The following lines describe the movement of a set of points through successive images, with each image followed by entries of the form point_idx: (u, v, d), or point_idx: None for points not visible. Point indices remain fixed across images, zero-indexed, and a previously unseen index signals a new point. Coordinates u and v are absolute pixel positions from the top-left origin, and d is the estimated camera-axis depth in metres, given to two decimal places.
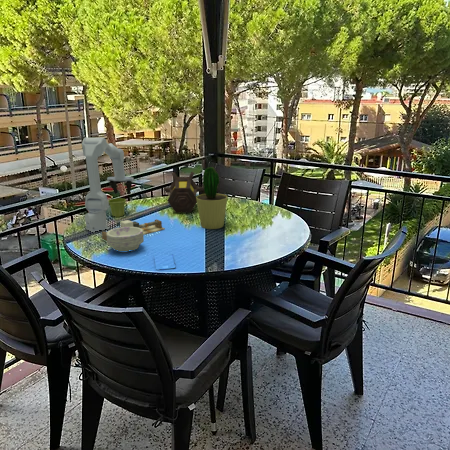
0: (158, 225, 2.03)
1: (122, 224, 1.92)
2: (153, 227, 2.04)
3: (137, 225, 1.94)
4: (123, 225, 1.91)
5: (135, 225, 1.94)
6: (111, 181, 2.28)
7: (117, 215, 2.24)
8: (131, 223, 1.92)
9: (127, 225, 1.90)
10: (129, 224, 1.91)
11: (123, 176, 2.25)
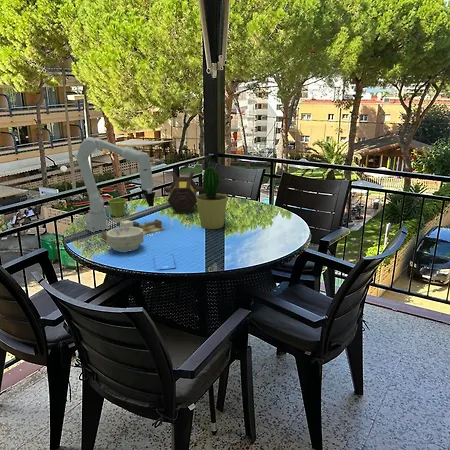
0: (158, 225, 2.03)
1: (122, 224, 1.92)
2: (153, 227, 2.04)
3: (137, 225, 1.94)
4: (123, 225, 1.91)
5: (135, 225, 1.94)
6: None
7: (117, 215, 2.24)
8: (131, 223, 1.92)
9: (127, 225, 1.90)
10: (129, 224, 1.91)
11: (145, 185, 2.01)
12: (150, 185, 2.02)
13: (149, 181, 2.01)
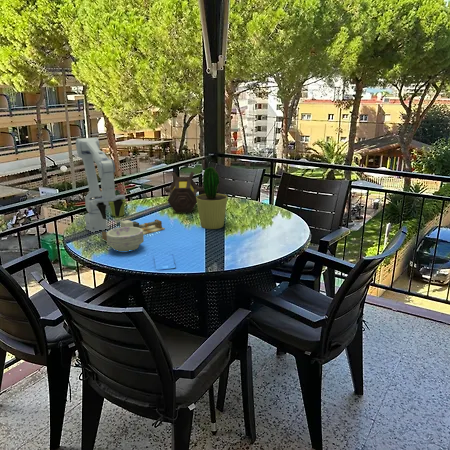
0: (158, 225, 2.03)
1: (122, 224, 1.92)
2: (153, 227, 2.04)
3: (137, 225, 1.94)
4: (123, 225, 1.91)
5: (135, 225, 1.94)
6: None
7: None
8: (131, 223, 1.92)
9: (127, 225, 1.90)
10: (129, 224, 1.91)
11: (102, 195, 1.83)
12: (104, 197, 1.81)
13: (103, 192, 1.81)
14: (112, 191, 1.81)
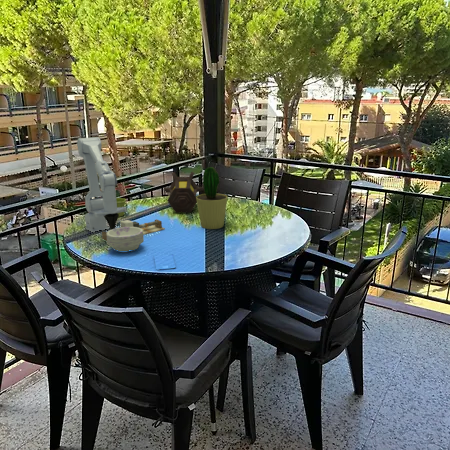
0: (158, 225, 2.03)
1: (122, 224, 1.92)
2: (153, 227, 2.04)
3: (137, 225, 1.94)
4: (123, 225, 1.91)
5: (135, 225, 1.94)
6: None
7: None
8: (131, 223, 1.92)
9: (127, 225, 1.90)
10: (129, 224, 1.91)
11: (103, 208, 1.85)
12: (106, 209, 1.83)
13: (105, 205, 1.82)
14: (114, 204, 1.83)
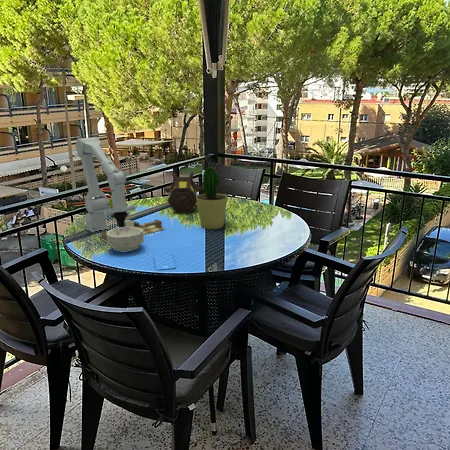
0: (158, 225, 2.03)
1: None
2: (153, 227, 2.04)
3: (137, 225, 1.94)
4: (124, 225, 1.91)
5: (135, 225, 1.94)
6: None
7: None
8: (132, 223, 1.92)
9: (128, 225, 1.91)
10: (130, 224, 1.91)
11: None
12: (115, 208, 1.86)
13: (114, 203, 1.85)
14: (123, 202, 1.86)
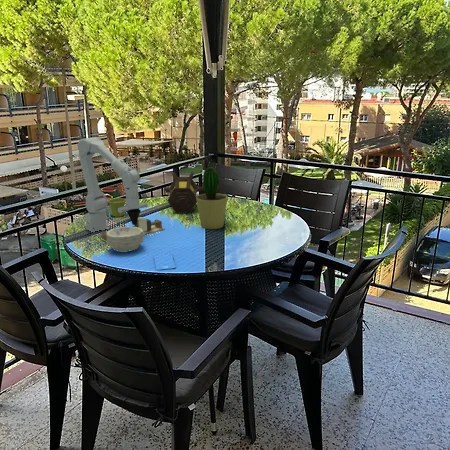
0: (158, 225, 2.03)
1: None
2: (153, 227, 2.04)
3: (149, 222, 1.98)
4: (137, 222, 1.96)
5: (147, 222, 1.98)
6: None
7: (117, 215, 2.24)
8: (145, 220, 1.96)
9: (141, 222, 1.95)
10: (143, 221, 1.96)
11: (126, 203, 1.92)
12: (129, 205, 1.90)
13: (128, 201, 1.90)
14: (136, 200, 1.90)
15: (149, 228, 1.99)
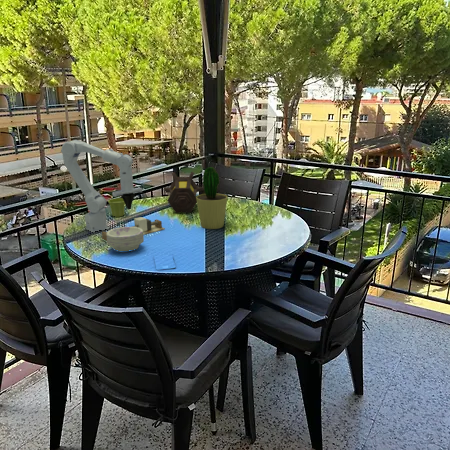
0: (158, 225, 2.03)
1: (136, 221, 1.96)
2: (153, 227, 2.04)
3: (149, 222, 1.98)
4: (137, 222, 1.96)
5: (147, 222, 1.98)
6: None
7: (117, 215, 2.24)
8: (145, 220, 1.96)
9: (141, 222, 1.95)
10: (143, 221, 1.96)
11: (121, 188, 1.97)
12: (123, 189, 1.95)
13: (122, 185, 1.95)
14: (130, 184, 1.95)
15: (149, 228, 1.99)
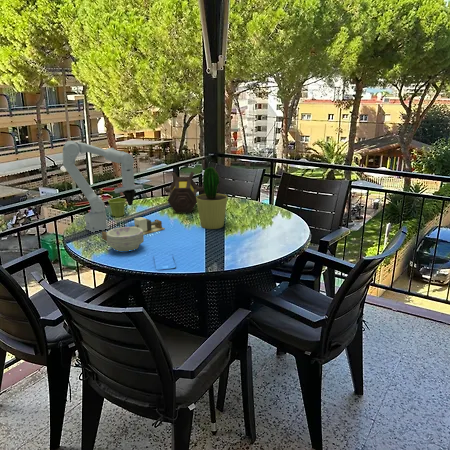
0: (158, 225, 2.03)
1: (136, 221, 1.96)
2: (153, 227, 2.04)
3: (149, 222, 1.98)
4: (137, 222, 1.96)
5: (147, 222, 1.98)
6: None
7: (117, 215, 2.24)
8: (145, 220, 1.96)
9: (141, 222, 1.95)
10: (143, 221, 1.96)
11: None
12: (125, 186, 2.02)
13: (124, 182, 2.02)
14: (132, 181, 2.02)
15: (149, 228, 1.99)
